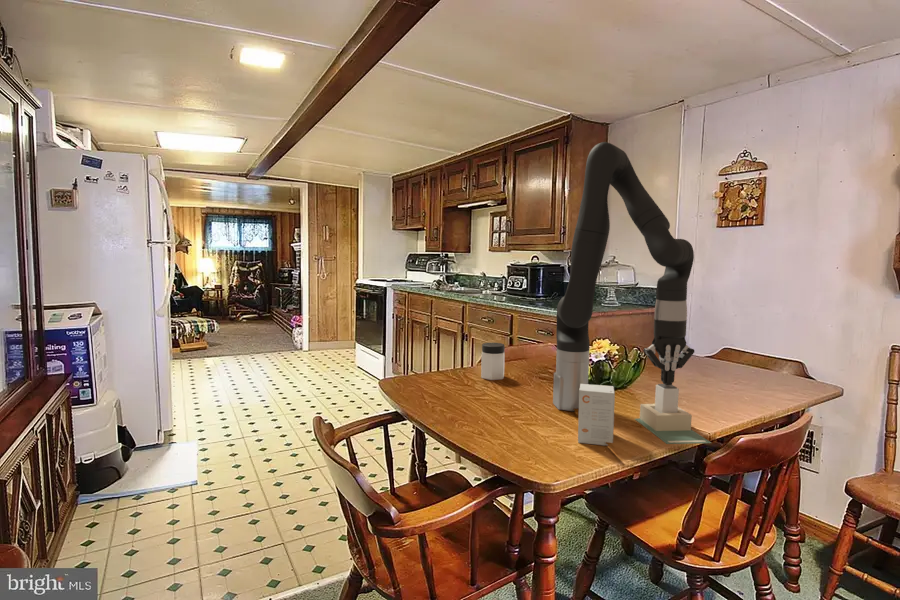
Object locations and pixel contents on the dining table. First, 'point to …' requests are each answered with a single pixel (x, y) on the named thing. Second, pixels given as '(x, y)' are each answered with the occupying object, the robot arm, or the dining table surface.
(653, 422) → the beige square socket
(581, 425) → the small box
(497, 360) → the jar
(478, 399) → the dining table surface
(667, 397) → the plug
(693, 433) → the board
